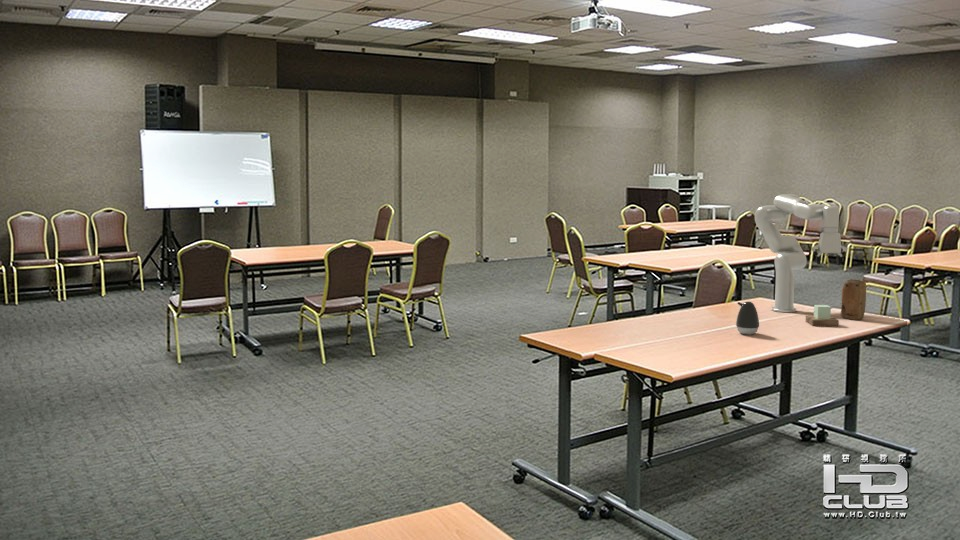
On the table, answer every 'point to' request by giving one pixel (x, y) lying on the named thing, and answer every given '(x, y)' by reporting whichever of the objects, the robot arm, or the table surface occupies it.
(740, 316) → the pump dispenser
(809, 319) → the base
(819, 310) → the cube
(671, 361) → the table surface
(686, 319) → the table surface
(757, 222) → the robot arm
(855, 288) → the block
